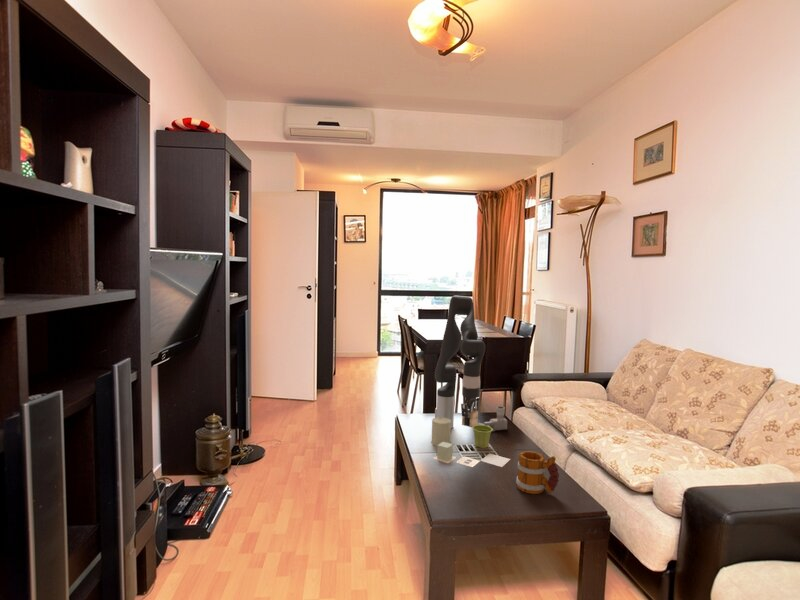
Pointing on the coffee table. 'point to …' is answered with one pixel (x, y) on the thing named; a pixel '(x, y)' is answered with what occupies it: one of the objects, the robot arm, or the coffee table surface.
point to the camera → (497, 420)
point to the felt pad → (495, 460)
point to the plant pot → (482, 435)
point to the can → (440, 430)
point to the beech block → (472, 418)
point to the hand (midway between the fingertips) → (469, 423)
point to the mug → (536, 473)
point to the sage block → (444, 451)
